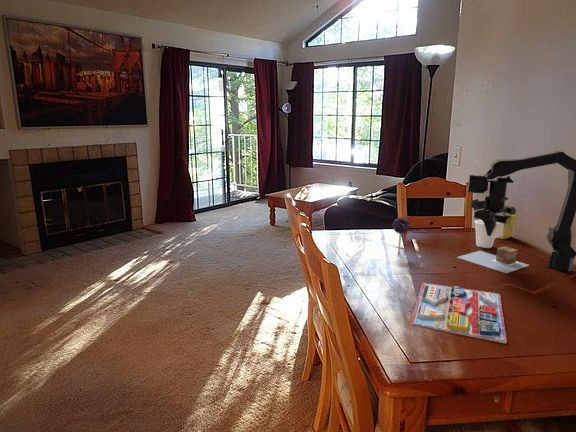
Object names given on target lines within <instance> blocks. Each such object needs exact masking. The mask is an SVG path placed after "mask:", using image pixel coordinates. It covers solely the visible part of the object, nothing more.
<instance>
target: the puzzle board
mask: <svg viewBox="0 0 576 432" xmlns="http://www.w3.org/2000/svg"><path fill="white" fill-rule="evenodd" d="M415 303H416V304H415V307H414V311H413V312H412V313H413V314H412V316H411V317H412V318H411V321H410V325H411V326H416V327H420V328H421V327H422V328H426V329H431V330H437V331H439V332H440V331H441V332H447V333H451V334H455V335H461V336H466V337H471V338H476V339H479V340H480V339H481V340H485V341H490V342H495V343H499V344H503V345H505V344H507V343H508V339H507V333H506V327H505V325H506V324H505V319H504V318H505V317H504V313H503V312H504V311H503V306H502V305H503V304H502V299H501V294H500V293H496V292H492V291H491V292H489V291H483V290H476V289H469V288H462V287H460V286H459V285H455V286H449V285H442V284H436V283H427V282H422V283H421V286H420V290H419V293H418V297H417V299H416V302H415Z"/></svg>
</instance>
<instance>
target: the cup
mask: <svg viewBox="0 0 576 432" xmlns="http://www.w3.org/2000/svg"><path fill="white" fill-rule="evenodd" d="M483 227H484V222H483V221H482V220H481V219H476V220H474V229H475V245H476V246H477V247H479V248H483V249H491V248H492V247H493V246H494V242H495V239H496V238H492V237H488V236H483Z"/></svg>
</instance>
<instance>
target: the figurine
mask: <svg viewBox="0 0 576 432" xmlns="http://www.w3.org/2000/svg"><path fill="white" fill-rule="evenodd" d="M506 214H507V215H508V216H511V217H510V218H509V219H508V220H507V222H506V223H505V225H504V228H503V236H501V237H498V238H497V239H500V240H505V239H509V238H510V237H512V235H513V234H514V227H515V225H516V223H517V219H518V215H517V214H514V215H510V213H506Z"/></svg>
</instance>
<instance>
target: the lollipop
mask: <svg viewBox="0 0 576 432" xmlns="http://www.w3.org/2000/svg"><path fill="white" fill-rule="evenodd" d="M391 227H392V228H393V230H394V232H395V233H397V234H399V235H398V237H399V239H398V248H397V254H398V255H400V253H401V252H400V251H401V242H402V241H401V240H402V234H403V235H404V234H406V233H408V231H409V230H410V228H411V224H410V222H409V220H408V219H407V218H405V217H397V218H396V219H394V220H393V222H392V224H391Z"/></svg>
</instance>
